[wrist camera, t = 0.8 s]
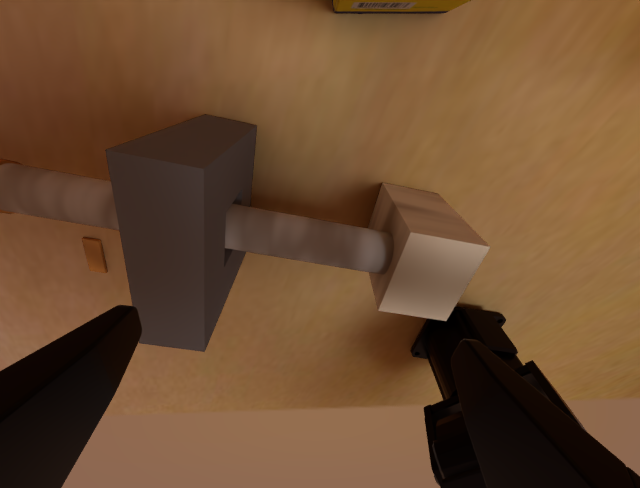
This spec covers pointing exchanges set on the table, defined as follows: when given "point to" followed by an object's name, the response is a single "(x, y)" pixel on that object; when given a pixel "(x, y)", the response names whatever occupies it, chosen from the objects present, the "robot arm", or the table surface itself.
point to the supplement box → (395, 6)
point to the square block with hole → (181, 223)
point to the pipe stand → (297, 236)
